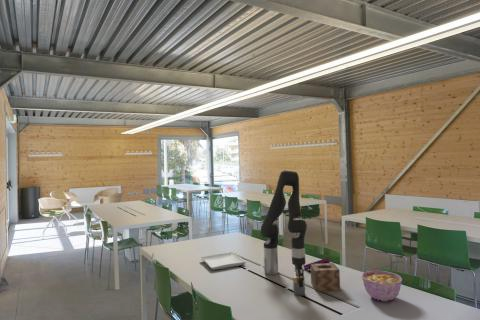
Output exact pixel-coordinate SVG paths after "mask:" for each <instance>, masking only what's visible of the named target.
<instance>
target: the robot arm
mask: <svg viewBox="0 0 480 320" xmlns="http://www.w3.org/2000/svg"><path fill="white" fill-rule="evenodd" d="M285 186H288V187H291V188H292V192H291V194H290V196H289V199H288V201H287V200H286V197H285V194H284V189H285ZM286 205H287V209H288V222H287V230H288V232H289V233H291V234H297V233H298V234H297V235H295V236H293V237H292V238H291V264H292V265H293V266H294V273H295V276H298V278H299V279H298V280H299V287H303V280H304V277H305V273H304V272H305V271H304V267H303V266H304V265H306V247H305V238H306V237H305V236H306V233H307V228H308V223H307V222H306V221H305V220H304V219H297V218H300V217H301V216H302V209H301V204H300V177H299V174H298V172H297V171H294V170H293V171H292V170H286V169H285V170H281V172H280V174H279V176H278V180H277V183H276V187H275V192H274V194H273V196H272V198H271V202H270V204H269V208H268V211H267V213H266V215H265V218H264V220H263V221H262V222H263V223H262V224H261V226H260V235H261V237H263V238H265V239H266V238H267V240H265V241H264V242H263V266H264V267H263V270H264V274H265V275H271V276H273V275H277V274H278V273H279V254H278V249H279V248H278V244H279V227H278V224H277V223H276V220H277V219H278V218H279V217H280V216H281V215H282V214H283V212H284V210H285V207H286ZM300 276H302V278H300Z"/></svg>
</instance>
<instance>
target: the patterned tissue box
mask: <svg viewBox="0 0 480 320" xmlns="http://www.w3.org/2000/svg"><path fill="white" fill-rule="evenodd" d="M340 272H341V271H340V269H339V268H338V266H336V264H335V263H334V262H330V263H322V264H311V267H310V284H311V285H312V288H313V289H314V291H315V292H336V291H337V292H338V291H339V290H340V291H341V281H340V280H341V278H340V276H341V274H340Z"/></svg>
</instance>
